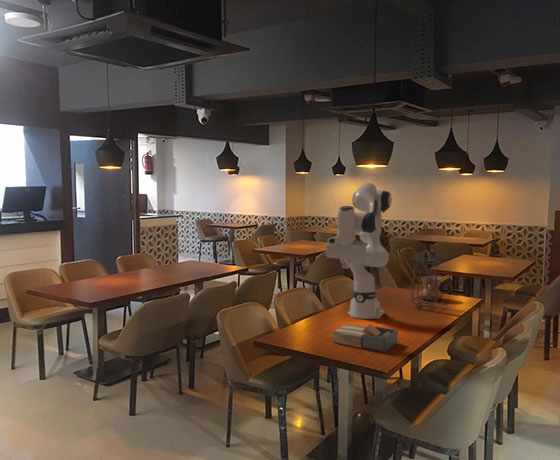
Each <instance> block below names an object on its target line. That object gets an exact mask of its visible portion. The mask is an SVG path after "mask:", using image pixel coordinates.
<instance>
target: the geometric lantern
mask: <svg viewBox="0 0 560 460" xmlns="http://www.w3.org/2000/svg"><path fill="white" fill-rule="evenodd" d="M425 255H427V258H426V257H425ZM409 260H410V262H412V263H413V274H412V275H413V276H412V284H411V292H410V293H411V294H410V301H411V302H412V303H413V304H415V305H414V306H415V309H418V310H424V311H430V310H432V309H433V308H434V305H435V304H436V303H438V302H439V300H438V290H439V288H438V287H437V300H436V285H437V277H438V271H439V270H438V268H439V264H440V262H441V261H442V260H443V258H441V257H440V256H438V255H437V254H435V253H433V252H431V251H430V250H428V249H424V250H422V251H421V252H418V253H417V254H415V255H413V256H411V257H409ZM419 262H421V264H419ZM424 262H425V263H424ZM431 262H432V263H431ZM428 265H432V267H431V269H430V270H427V267H428ZM421 266H422V267H423V269H420V267H421ZM434 267H436V270H435V268H434ZM417 268H418V270H416V269H417ZM422 272H424V273H422ZM416 273H418V286H417V296H416V297H414V294H415V275H416ZM424 274H426V276H427V298H422V292H421V291H423V290H424V286H423V277H424ZM432 274H435V276H434V277H435V299H432V291H431V299H430V300H431V301H430V300H428V299H429V298H428V276H429V275H430V289H431V276H432ZM421 275H422V276H421ZM421 278H422V279H421ZM420 279H421V291H420ZM420 292H421V297H420V296H419V293H420ZM416 299H417V300H416ZM425 299H427V300H426V301H423V300H425ZM432 300H436V301H432ZM429 301H430V302H429ZM416 302H417V303H416ZM424 304H426V305H424ZM421 307H426V308H421Z"/></svg>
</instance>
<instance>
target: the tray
mask: <svg viewBox="0 0 560 460" xmlns="http://www.w3.org/2000/svg"><path fill="white" fill-rule="evenodd" d="M374 327H375V328H376V329H377V330H379V331H380V332H381V333H380V335H379V336H381V335H383V334H384V333H386V332H388V331H389V332H390V335H388V336H387V337H385V338H380V337H379V336H378V337H374V336H369V335H363V334H362V347H361V349H365V350H369V351H376V352H380V353H386V352H387V351H389V350H390V349H391V348H393V347H394V346H396V345H397V344H398V332H399V331H398V329H392V328H386V327H381V326H374Z"/></svg>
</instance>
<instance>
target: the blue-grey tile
mask: <svg viewBox="0 0 560 460" xmlns="http://www.w3.org/2000/svg"><path fill="white" fill-rule="evenodd" d="M388 335H390V332H389V331H388V332H386V333H384V334H383V335H381V336H379V337H380V338H385V337H387V336H388Z"/></svg>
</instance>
